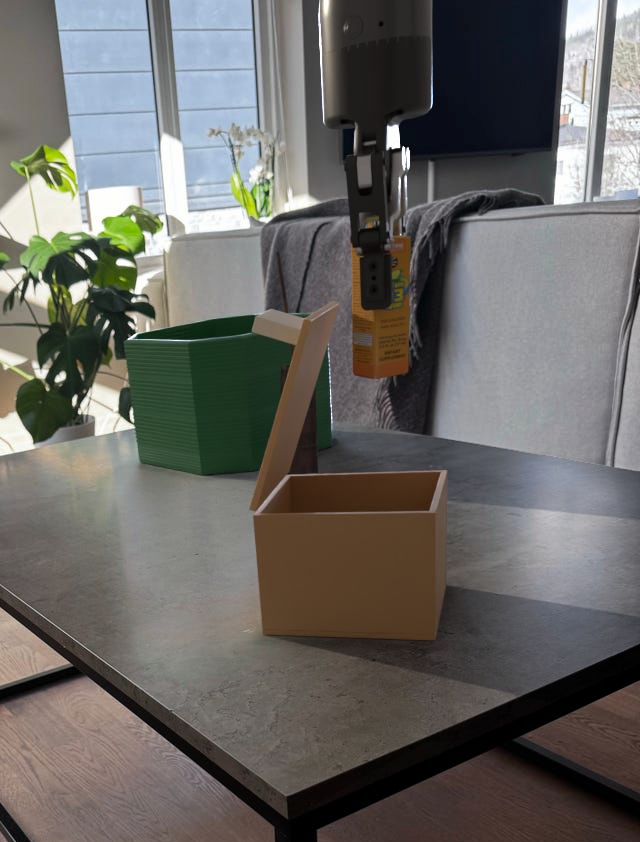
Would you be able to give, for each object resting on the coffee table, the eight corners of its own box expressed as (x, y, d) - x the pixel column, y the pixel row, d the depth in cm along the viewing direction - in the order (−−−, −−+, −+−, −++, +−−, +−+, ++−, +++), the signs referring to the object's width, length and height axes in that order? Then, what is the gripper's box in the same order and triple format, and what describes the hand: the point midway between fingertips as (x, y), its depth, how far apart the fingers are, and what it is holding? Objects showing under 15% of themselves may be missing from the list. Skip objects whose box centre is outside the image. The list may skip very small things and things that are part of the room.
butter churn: (359, 476, 118) (351, 242, 107) (305, 494, 114) (291, 252, 102) (309, 467, 125) (297, 247, 114) (256, 484, 121) (239, 256, 109)
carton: (446, 584, 82) (447, 469, 78) (435, 640, 72) (435, 512, 68) (293, 582, 87) (286, 474, 83) (262, 634, 77) (252, 515, 73)
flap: (340, 302, 75) (285, 286, 76) (311, 320, 65) (248, 302, 66) (289, 471, 83) (239, 455, 84) (255, 512, 73) (199, 493, 74)
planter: (224, 480, 124) (211, 342, 117) (120, 458, 144) (103, 339, 137) (358, 439, 137) (353, 311, 130) (245, 424, 157) (236, 313, 150)
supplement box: (376, 380, 70) (372, 239, 66) (351, 376, 73) (347, 240, 69) (412, 373, 71) (411, 233, 67) (387, 369, 74) (384, 235, 70)
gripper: (421, 16, 56) (422, 312, 62) (441, 45, 68) (440, 291, 74) (299, 41, 58) (313, 322, 65) (339, 65, 70) (348, 300, 77)
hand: (381, 304), depth 70 cm, fingers closed on supplement box, 4 cm apart
